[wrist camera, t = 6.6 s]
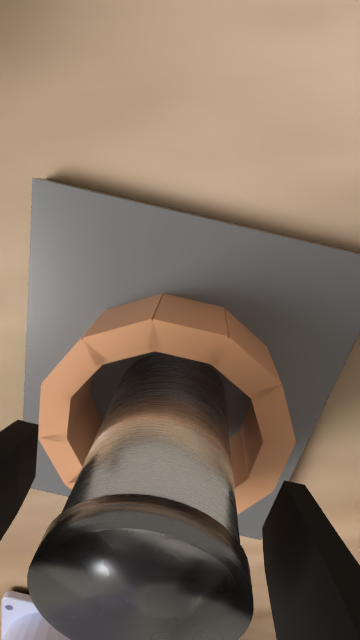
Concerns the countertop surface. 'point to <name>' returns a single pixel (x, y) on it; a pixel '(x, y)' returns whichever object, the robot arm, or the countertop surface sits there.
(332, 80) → the countertop surface
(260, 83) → the countertop surface
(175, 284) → the duct flange
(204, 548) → the silver metal cylinder
